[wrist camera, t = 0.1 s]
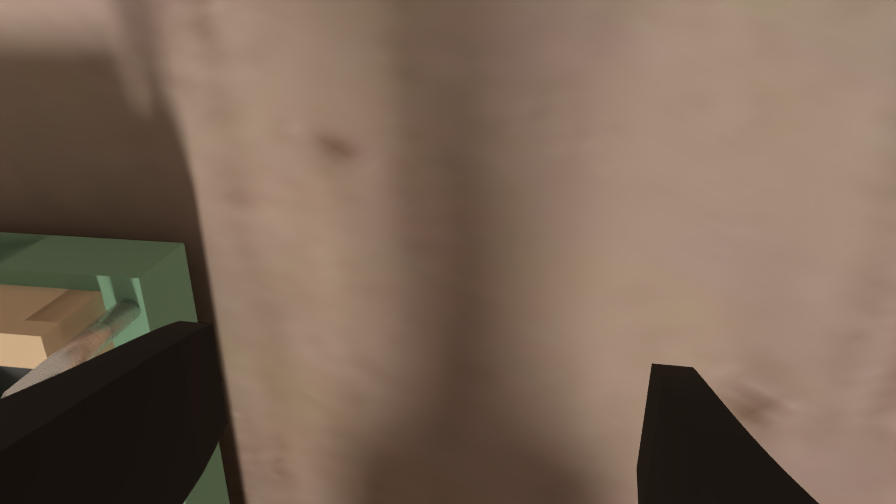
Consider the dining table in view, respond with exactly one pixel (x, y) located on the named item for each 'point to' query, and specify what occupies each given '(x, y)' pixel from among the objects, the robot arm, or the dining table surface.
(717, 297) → the dining table surface
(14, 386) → the hammer
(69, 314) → the board
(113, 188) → the dining table surface
